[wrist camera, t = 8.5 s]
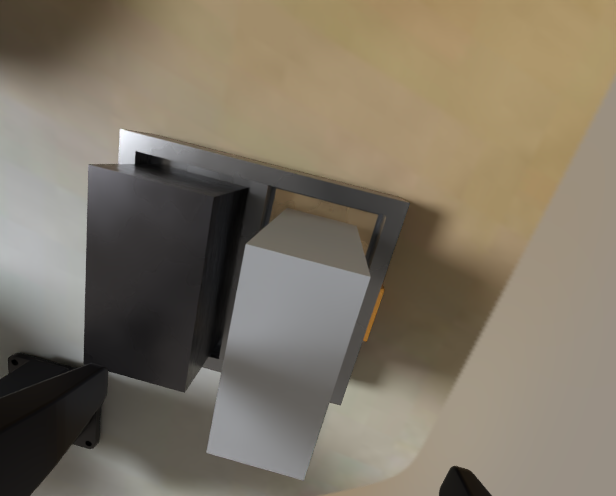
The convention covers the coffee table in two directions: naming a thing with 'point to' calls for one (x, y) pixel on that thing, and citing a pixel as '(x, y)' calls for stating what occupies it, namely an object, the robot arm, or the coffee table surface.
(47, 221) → the coffee table surface
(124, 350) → the rack
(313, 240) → the grey block
